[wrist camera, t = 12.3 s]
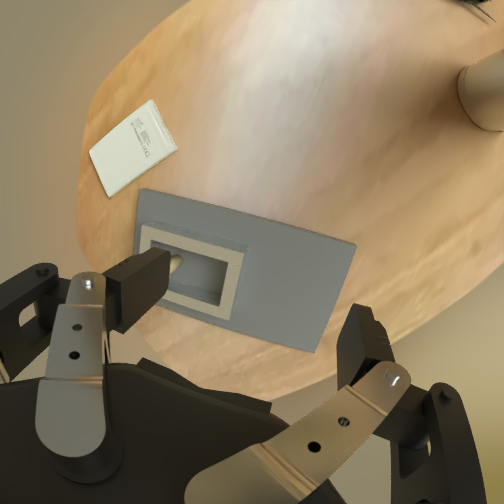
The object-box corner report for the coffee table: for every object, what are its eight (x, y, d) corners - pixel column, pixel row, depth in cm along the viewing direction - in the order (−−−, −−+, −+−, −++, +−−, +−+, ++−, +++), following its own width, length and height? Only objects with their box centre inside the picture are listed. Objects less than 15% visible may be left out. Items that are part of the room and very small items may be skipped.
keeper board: (355, 244, 33) (366, 265, 26) (314, 348, 38) (313, 383, 31) (144, 188, 36) (111, 195, 29) (135, 291, 41) (108, 313, 34)
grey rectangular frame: (249, 245, 34) (244, 253, 31) (234, 309, 37) (228, 320, 34) (153, 219, 35) (141, 224, 33) (147, 280, 38) (137, 289, 36)
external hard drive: (94, 150, 36) (155, 100, 32) (115, 196, 38) (180, 150, 34) (87, 150, 34) (149, 98, 31) (108, 197, 36) (174, 149, 32)
